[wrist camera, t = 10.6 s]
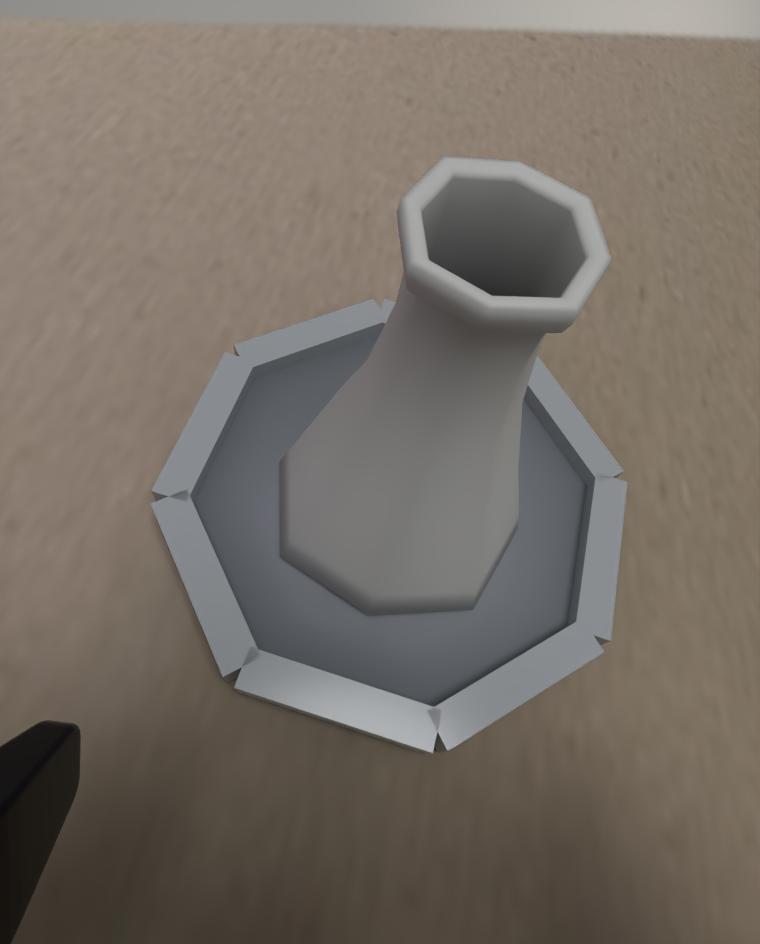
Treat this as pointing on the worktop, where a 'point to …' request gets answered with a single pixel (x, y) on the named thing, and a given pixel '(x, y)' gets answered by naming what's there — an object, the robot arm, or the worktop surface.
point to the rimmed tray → (339, 622)
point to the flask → (441, 393)
